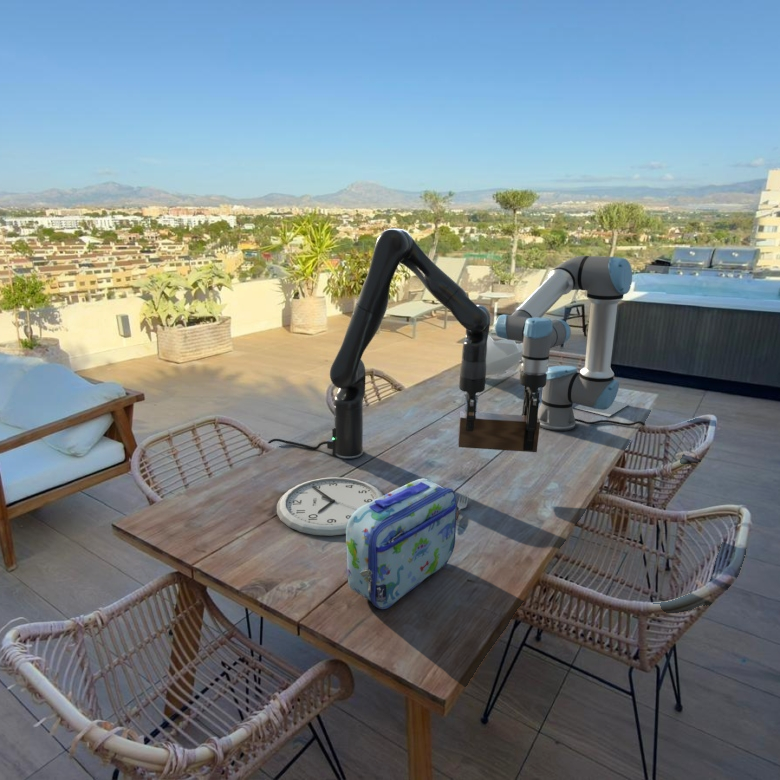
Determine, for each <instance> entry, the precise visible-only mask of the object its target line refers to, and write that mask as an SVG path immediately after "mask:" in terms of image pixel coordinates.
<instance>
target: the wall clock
mask: <svg viewBox="0 0 780 780" xmlns="http://www.w3.org/2000/svg"><path fill="white" fill-rule="evenodd" d="M384 495H385V494H384V493H383V492H382V491H381V490H380V489H379V488H377V487H376V486H374V485H372V484H371V483H369V482H365V481H362V480H359V479H355V478H349V477H338V476H337V477H335V476H333V477H332V476H331V477H322V478H317V479H312V480H307V481H305V482H302V483H299V484H297V485H295V486H293V487H292V488H290V489H288V490H287V491H286V492H285V493H284V494H283V495H281V496H280V498H279V499H278V502H277V503H276V515H277V517H278V518H279V520H280V521H281V522H282V523H283V524H285V525H286V526H287V527H288V528H290V529H293V530H295V531H297V532H299V533H303V534H308V535H312V536H327V537H328V536H329V537H331V536H332V537H333V536H342V535H346V528H347V524H348V521H349V519H350V517H351V515H352V514H353V513H354V512H355V511H356V510H357V509H358V508H360V507H362V506H364V505H366V504H368V503H370V502H372V501H374V500H376V499H378V498H380V497H382V496H384Z"/></svg>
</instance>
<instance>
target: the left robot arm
mask: <svg viewBox="0 0 780 780" xmlns="http://www.w3.org/2000/svg"><path fill="white" fill-rule="evenodd" d="M400 264H401V265H403V266H404V267H406V268H407V269H408V270H410V271H411V272H412V273H413V274H414V275H415V276H416V277H417V278H418V279H419V280H420V282H421V283H422V285H423V286H424V287H425V288H426V290H427V291H428V292H429V293H430V294H431V295H432V297H433V298H435V300H437V301H438V303H440V304H441V305H442V306H443V307H444V308H446V309H447V310H448V311H449V312H450V313H451V315H452V316H453V317H454V318H455V319H456V320H457V322H458V323H459V324H460V325H461V326H462V327H463V328H464V329H465V338H464V340H463V344H462V349H461V350H462V352H461V362H460V368H459V369H460V370H459V385H458V389H459V390H460V391H461V392H464V397H463V398H464V412H466V413H467V415H466V419H467V420H466V431H473V430H474V420H475V419H476V417H475V415H476V413H478V412H477V411H478V403H479V395H478V393H483V392H484V391H485V388H486V379H487V376H486V354H487V339H488V334H489V332H490V327H491V313H490V311H489V309H488V308H487V307H486V306H484V305H482V304H476V303H475V302H473V301H472V300H471V298H469V297H468V294H467V292H466V291H465V290H464V289H463V288H462V287H461V286H460V285H459V284H458V283H457V282H456V281H454V280H453V279H452V278H451V277H450V276H449V275H447V273H446V272H445V271H444V270H442V269H441V268H440V267H439V266H438V265H436V264H435V262H434V261H432V259H430V257H429V256H427V254H426V253H425V252H424V251H423V250H422V248H421V247H420V246H419V245H418V244H417V242H416V241H415V240H414V238H413V237H412V236H411V234H409V232H408V231H406V230H404V229H403V228H388V229H386V230H384V231H382V232H381V233H380V234H379V235H378V237H377V239H376V241H375V245H374V248H373V253H372V257H371V262H370V265H369V270H368V272H367V275H366V277H365V279H364V282H363V284H362V286H361V290H360V293H359V295H358V298H357V300H356V302H355V304H354V307H353V311H352V314H351V316H350V320H349V323H348V326H347V328H346V331H345V334H344V337H343V340H342V342H341V346H340V348H339V350H338V351H337V354H336V356H335V358H334V359H333V362H332V364H331V366H330V370H329V378H330V381H331V383H332V385H333V386H334V387H336V388H338V389H337V392H336V394H335V396H334V399H333V404H334V405H333V406H334V407H333V408H334V409H333V410H334V426H333V427H332V428H331V433H332V434H331V435H332V436H331V437H330V438H329V439H327V440H325V441H321V442H319V443H318V444H317V445H316V446H311V445H308V444H304V443H299V442H297V441H296V442H295V441H290V440H285V439H281V438H272V439H270V440H269V441H268V442H267V444H272V443H273V442H279V443H284V444H288V445H294V446H298V447H301V448H306V449H309V450H318V449H320V447H321V446H323V445H326V449H327V450H332V456H335V457H337V458H339V459H342V460H354V459H358V458H360V457H362V456H363V454H364V450H363V449H364V447H363V445H364V444H363V442H364V441H363V436H364V435H363V434H364V432H363V429H364V421H363V419H364V415H363V414H364V413H363V412H364V410H363V408H364V405H363V403H364V402H363V401H364V398H365V394H366V377H367V376H366V366H365V364H364V363H365V362H364V361H363V360H362V357H363V355H364V352H365V351H366V349H367V347H368V346H369V344H370V343H371V342H372V340H373V339H374V337H375V336H376V334H377V332H378V331H379V329H380V327H381V325H382V323H383V320H384V318H385V315H386V312H387V309H388V305H389V300H390V299H389V297H390V288H391V284H392V280H393V277H394V275H395V273H396V271H397V269H398V267H399V265H400ZM469 412H473V416H472V415H469Z"/></svg>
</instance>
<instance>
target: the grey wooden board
mask: <svg viewBox="0 0 780 780" xmlns="http://www.w3.org/2000/svg"><path fill="white" fill-rule="evenodd" d="M628 406H629V404H627V403H623V402H618V401H614V402H613V403H612V405H611V406H610V407H609V408H608V409H606V410H601V409H594V408H591V407H587V406H583V405H579V404H577V405H575V406H574V407H573V409H575V410H581V411H584V412H587V413H593V414H596V415H600V416H604V417H608V418H609V417H611V416H613V415H614V414H616V413H617V412H619V411H621V410H623V409H624V408H626V407H628Z"/></svg>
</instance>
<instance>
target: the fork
mask: <svg viewBox="0 0 780 780" xmlns="http://www.w3.org/2000/svg"><path fill="white" fill-rule="evenodd" d="M461 496H462V497H461ZM469 496H470V494H467V495H465V496H464V494H460V495H459V498H458V501H457V503H456V508H458V510H456V521H457V520H458V519H459V517H460V513H461V510H463V509H465V508H467V506H468V502H469V501H468V500H469ZM466 497H467V498H466Z"/></svg>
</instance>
